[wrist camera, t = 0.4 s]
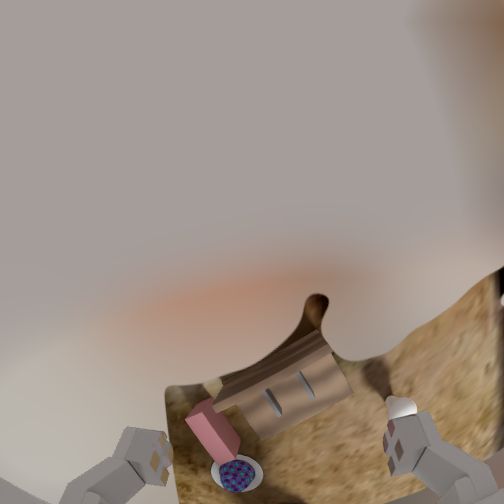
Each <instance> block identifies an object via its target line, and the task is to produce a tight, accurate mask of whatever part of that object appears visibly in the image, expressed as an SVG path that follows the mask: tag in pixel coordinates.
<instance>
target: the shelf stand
mask: <svg viewBox="0 0 504 504" xmlns="http://www.w3.org/2000/svg"><path fill="white" fill-rule="evenodd" d="M331 352H333V351H332V349H331V348H330V346H329V344H328V343H327V342H326V341H325V339H324V338H323V337H322V336H321V335H320V334H319V332H318V331H317V329H316V330H314V331H313V332H311V333H309V334H308V335H306V336H304V337H303V338H301V339H299V340H298V341H296V342H294V343H292V344H291V345H289V346H287V347H286V348H284V349H282V350H280V351H279V352H277V353H275V354H273V355H271V356H270V357H268V358H266V359H264V360H262V361H261V362H259V363H257V364H255V365H253V366H251V367H249V368H248V369H246V370H244V371H242V372H240V373H238V374H236V375H234V376H232V377H230V378H228V379H226V380H224V381H223V382H222V384H223V385H224V386H223V388H222V389H221V391H220V393H219V394H218V396H217V397H216V399H215V401H214V402H213V404H212V408H213V409H214V411H215V412H216V413H218V412H221V411H223V410H225V409H227V408H229V407H231V406H234V405H237V407H238V408H239V410H240V411H241V412H242V414H243V415H244V417H245V418H246V420H247V421H248V423H249V424H250V426H251V427H252V428H253V430H254V431H255V433H256V434H257V436H258V437H259V438H260V440H261V441H263V440H265V439H268V438H270V437H272V436H274V435H276V434H278V433H280V432H283V431H285V430H287V429H289V428H291V427H293V426H295V425H297V424H299V423H301V422H303V421H304V420H306V419H308V418H310V417H312V416H314V415H316V414H318V413H319V412H321V411H323V410H325V409H327V408H328V407H330V406H332V405H334V404H335V403H337V402H339V401H340V400H342V399H344V398H345V397H347V396H349V395H350V394H352V393H354V392H353V390H352V389H351V387H350V385H349V384H348V382H347V380H346V378H345V377H344V375H343V373H342V372H341V370H340V368H339V366H338V365H337V363H336V361H335V360H334V358H333V356H332V354H331Z"/></svg>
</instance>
